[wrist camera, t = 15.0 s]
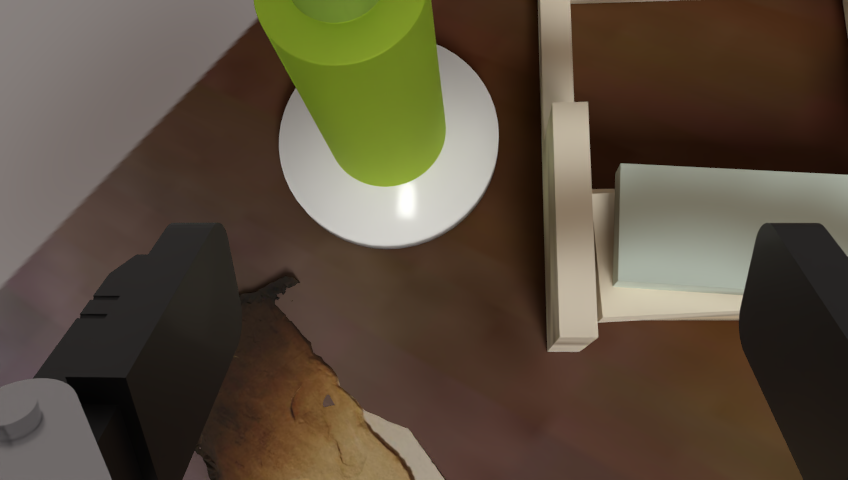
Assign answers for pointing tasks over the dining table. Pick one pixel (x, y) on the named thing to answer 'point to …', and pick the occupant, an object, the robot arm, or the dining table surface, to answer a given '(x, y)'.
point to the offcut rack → (651, 217)
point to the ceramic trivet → (407, 203)
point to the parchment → (297, 412)
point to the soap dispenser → (365, 80)
